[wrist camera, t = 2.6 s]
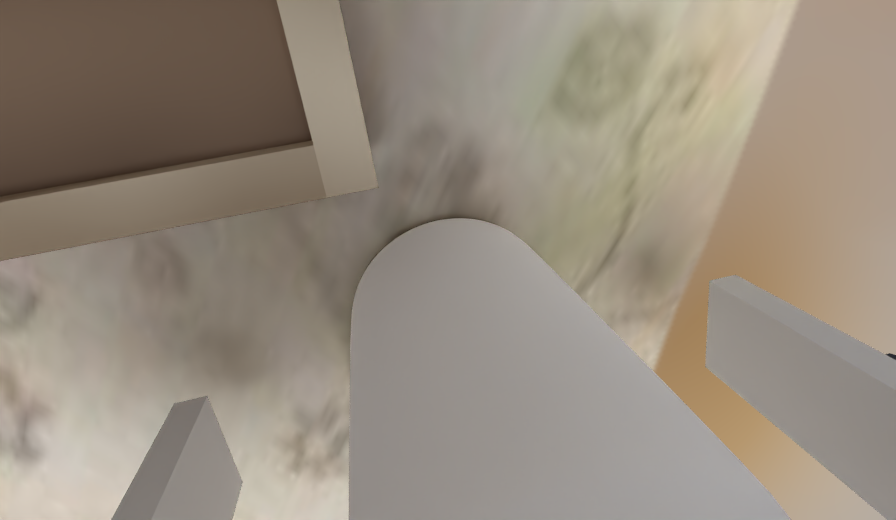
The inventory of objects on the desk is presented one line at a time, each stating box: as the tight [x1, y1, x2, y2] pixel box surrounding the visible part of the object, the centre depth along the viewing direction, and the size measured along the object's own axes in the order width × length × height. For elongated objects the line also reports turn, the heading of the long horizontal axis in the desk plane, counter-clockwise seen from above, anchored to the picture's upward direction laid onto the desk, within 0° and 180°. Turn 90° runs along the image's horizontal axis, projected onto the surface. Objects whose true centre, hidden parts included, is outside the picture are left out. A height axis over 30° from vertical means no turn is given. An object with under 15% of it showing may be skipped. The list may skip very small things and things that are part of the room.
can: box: [349, 218, 791, 520], centre depth 11 cm, size 6×6×12 cm
